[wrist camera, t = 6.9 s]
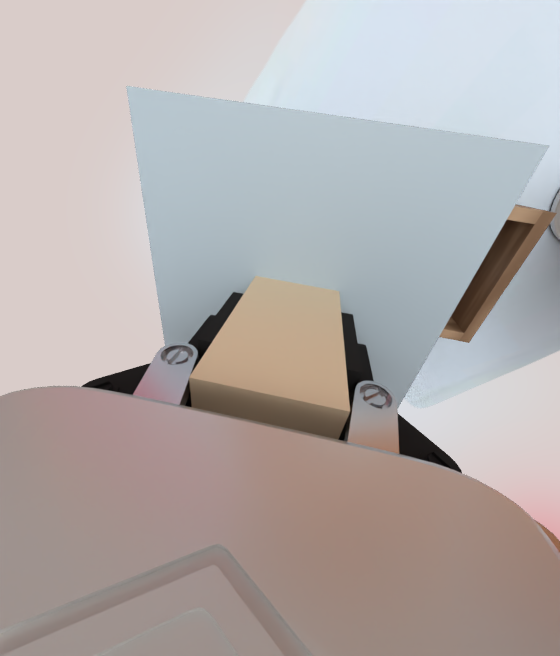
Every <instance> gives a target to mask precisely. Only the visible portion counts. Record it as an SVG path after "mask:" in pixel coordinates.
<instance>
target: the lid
mask: <svg viewBox="0 0 560 656" xmlns="http://www.w3.org/2000/svg"><path fill="white" fill-rule="evenodd" d="M126 88H127V95H128V101H129V108H130V115H131V121H132V128H133V134H134V141H135V148H136V155H137V161H138V168H139V174H140V181H141V188H142V195H143V201H144V208H145V215H146V221H147V228H148V235H149V241H150V248H151V255H152V261H153V267H154V275H155V281H156V288H157V295H158V301H159V308H160V315H161V321H162V327H163V334H164V340H165V346H166V345H169V344H172V343H188V342H189V341H190V340H191V338H192V337H193V336H194V335H195V333H196V332H197V331H198V330H199V328H200V327H201V326H202V325H203V323H204V322H205V321H206V319H207V318H208V317H209V316H210V315H216V314H217V313H218V312H219V310H220V309H221V308H222V306H223V305H224V304H225V302H226V301H227V300H228V298H229V297H230V296H231V294H232V293H233V292H237V293H242V294H243V296H242V297H241V299H240V300H239V302H238V303H237V305H236V306H235V308H234V310H233V311H232V313H231V314H230V316H229V317H228V319H227V320H226V322H225V323H224V325H223V326H222V328H221V329H220V331H219V332H218V334H217V335H216V337H215V339H214V340H213V342H212V343H211V345H210V346H209V348H208V349H207V351H206V352H205V354H204V355H203V357H202V358H201V360H200V361H199V363H198V364H197V366H196V368H195V369H194V371H193V372H192V374H191V375H190V377H189V382H190V393H191V404H192V408H197V409H202V410H206V411H211V412H216V413H220V414H225V415H229V416H234V417H239V418H243V419H248V420H252V421H257V422H261V423H266V424H270V425H275V426H279V427H284V428H289V429H293V430H298V431H302V432H306V433H311V434H315V435H320V436H324V437H329V438H333V439H337V440H338V439H339V437H340V434H341V432H342V430H343V427H344V425H345V423H346V420H347V418H348V415H349V413H350V404H349V393H348V382H347V371H346V360H345V349H344V338H343V327H342V316H341V312H343V313H348V314H353V318H354V324H355V330H356V336H357V342H358V343H359V344H364V345H366V347H367V351H368V356H369V361H370V366H371V370H372V375H373V380H374V382H378V383H380V384H382V385H384V386H385V387H387V388H388V389H389V390H390V391H391V392H392V393H393V394H394V396H395V397H396V400H397V409H398V407H399V405H400V404H401V402H402V400H403V398H404V397H405V395H406V393H407V391H408V390H409V388H410V386H411V385H412V383H413V381H414V379H415V378H416V376H417V374H418V372H419V371H420V369H421V367H422V365H423V364H424V362H425V360H426V359H427V357H428V355H429V353H430V352H431V350H432V348H433V346H434V345H435V343H436V341H437V340H438V338H439V336H440V334H441V333H442V331H443V329H444V327H445V326H446V324H447V322H448V320H449V319H450V317H451V315H452V314H453V312H454V310H455V308H456V307H457V305H458V303H459V301H460V300H461V298H462V296H463V295H464V293H465V291H466V289H467V288H468V286H469V284H470V282H471V281H472V279H473V277H474V275H475V274H476V272H477V270H478V269H479V267H480V265H481V263H482V262H483V260H484V258H485V256H486V255H487V253H488V251H489V250H490V248H491V246H492V244H493V243H494V241H495V239H496V237H497V236H498V234H499V232H500V230H501V229H502V227H503V225H504V224H505V222H506V220H507V218H508V217H509V215H510V213H511V211H512V210H513V208H514V206H515V205H516V203H517V201H518V199H519V198H520V196H521V194H522V192H523V191H524V189H525V187H526V186H527V184H528V182H529V180H530V179H531V177H532V175H533V173H534V172H535V170H536V168H537V166H538V165H539V163H540V161H541V160H542V158H543V156H544V154H545V153H546V151H547V149H548V147H549V145H542V144H535V143H527V142H520V141H513V140H506V139H499V138H492V137H485V136H478V135H471V134H464V133H457V132H450V131H442V130H435V129H428V128H421V127H414V126H407V125H400V124H393V123H386V122H379V121H372V120H365V119H357V118H350V117H343V116H336V115H329V114H322V113H315V112H308V111H301V110H294V109H287V108H280V107H272V106H265V105H258V104H251V103H244V102H237V101H230V100H222V99H216V98H209V97H202V96H195V95H187V94H180V93H173V92H166V91H159V90H152V89H145V88H138V87H131V86H126Z"/></svg>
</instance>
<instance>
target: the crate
mask: <svg viewBox="0 0 560 656" xmlns="http://www.w3.org/2000/svg"><path fill="white" fill-rule="evenodd" d="M556 214H557V213H554V212H549V211H545V210H540V209H535V208H531V207H526V206H521V205H515V206H514V208H513V210H512V211H511V213H510V215H509V217H508V218H507V220H506V222H505V224H504V225H503V227H502V229H501V230H500V232H499V234H498V236H497V237H496V239H495V241H494V243H493V244H492V246H491V248H490V250H489V251H488V253H487V255H486V256H485V258H484V260H483V262H482V263H481V265H480V267H479V269H478V270H477V272H476V274H475V275H474V277H473V279H472V281H471V282H470V284H469V286H468V288H467V289H466V291H465V293H464V295H463V296H462V298H461V300H460V301H459V303H458V305H457V307H456V308H455V310H454V312H453V314H452V315H451V317H450V319H449V320H448V322H447V324H446V326H445V327H444V329H443V331H442V333H441V334H440V336H439V337H443V338H448V339H453V340H458V341H463V342H468V343H469V342H470V340H471V339H472V337H473V336H474V334H475V333H476V331H477V330H478V329H479V327H480V326H481V324H482V323H483V321H484V320H485V318H486V317H487V315H488V314H489V312H490V311H491V309H492V308H493V306H494V305H495V304H496V302H497V301H498V299H499V298H500V296H501V295H502V293H503V292H504V290H505V289H506V287H507V286H508V284H509V283H510V281H511V280H512V279H513V277H514V276H515V274H516V273H517V271H518V270H519V268H520V267H521V265H522V264H523V262H524V261H525V259H526V258H527V256H528V255H529V254H530V252H531V251H532V249H533V248H534V246H535V245H536V243H537V242H538V240H539V239H540V237H541V236H542V234H543V233H544V231H545V230H546V229H547V227H548V226H549V224H550V223H551V221H552V220H553V218H554V217H555V215H556Z"/></svg>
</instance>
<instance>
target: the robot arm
mask: <svg viewBox="0 0 560 656" xmlns="http://www.w3.org/2000/svg"><path fill="white" fill-rule="evenodd" d="M551 212H554V213H557V214H556V215H555V217H554V218H553V220H552V221H551V223H550V225H551V229H552V231H553V233H554V235H555V236H556V237H557V238H558V239H559V240H560V190H559V192H558V194H557V196H556V198H555V200H554V202H553V205H552V208H551ZM242 296H243V294H242V293H237V292H233V293H232V294H231V296H230V297H229V298H228V300H227V301H226V302H225V304H224V305H223V306H222V308H221V309H220V310H219V312H218V313H217V314H216V315H210V316H209V317H208V318H207V319H206V321H205V322H204V323H203V325H202V326H201V327H200V328H199V330H198V331H197V332H196V333H195V335H194V336H193V337H192V338H191V340H190V341H189V342H188V343H172V344H169V345H166V346H164V347H163V348H161V349H160V350H159V351H158V352H157V354H156V355H155V357H154V359H153V361H152V363H150V364H146V365H143V366H139V367H136V368H133V369H129V370H126V371H122V372H119V373H115V374H112V375H108V376H105V377H102V378H98V379H95V380H93V381H90V382H88V383H86V384H85V385H83V386H82V387H77V386H49V387H37V388H31V389H24V390H20V391H15V392H11V393H8V394H5V395H2V396H0V656H560V541H559V540H558V539H557V538H556V536H555V535H554V534H553V533H551V532H550V531H549V530H548V529H547V528H545V527H544V526H543V525H541V524H540V523H538V522H537V521H535V520H534V519H533V518H532V517H531V516H530V515H529V514H528V513H527V512H525V511H524V510H523V509H522V508H521V507H520V506H519V505H517V504H516V503H514V502H513V501H511V500H510V499H509V498H507V497H506V496H504V495H503V494H501V493H499V492H498V491H496V490H495V489H493V488H491V487H489V486H487V485H485V484H483V483H482V482H480V481H478V480H476V479H474V478H472V477H469V476H467V475H465V474H462V472H461V469H460V468H459V467H458V465H457V464H456V463H455V461H453V459H452V458H451V457H450V456H448V455H447V454H446V453H445V452H444V451H442V450H441V449H440V448H439V447H438V446H436V445H435V444H434V443H433V442H431V441H430V440H429V439H428V438H427V437H425V436H424V435H423V434H422V433H421V432H419V431H418V430H417V429H416V428H415V427H413V426H412V425H411V424H410V423H409V422H407V421H406V420H405V419H404V418H402V417H401V416H400V415H399V414H398V412H397V400H396V397H395V396H394V394H393V393H392V392H391V391H390V390H389V389H388V388H387V387H385V386H384V385H382V384H380V383H378V382H374V380H373V375H372V370H371V366H370V361H369V356H368V351H367V347H366V345H364V344H359V343H358V342H357V336H356V330H355V324H354V318H353V314H348V313H343V312H341V316H342V327H343V338H344V349H345V360H346V371H347V382H348V393H349V404H350V413H349V415H348V418H347V420H346V423H345V425H344V427H343V430H342V432H341V434H340V437H339V439H338V440H337V439H333V438H329V437H324V436H320V435H315V434H311V433H306V432H302V431H298V430H293V429H289V428H284V427H279V426H275V425H270V424H266V423H261V422H257V421H252V420H248V419H243V418H239V417H234V416H229V415H225V414H220V413H216V412H211V411H206V410H202V409H197V408H192V404H191V393H190V382H189V377H190V375H191V374H192V372H193V371H194V369H195V368H196V366H197V364H198V363H199V361H200V360H201V358H202V357H203V355H204V354H205V352H206V351H207V349H208V348H209V346H210V345H211V343H212V342H213V340H214V339H215V337H216V335H217V334H218V332H219V331H220V329H221V328H222V326H223V325H224V323H225V322H226V320H227V319H228V317H229V316H230V314H231V313H232V311H233V310H234V308H235V306H236V305H237V303H238V302H239V300H240V299H241V297H242Z"/></svg>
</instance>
